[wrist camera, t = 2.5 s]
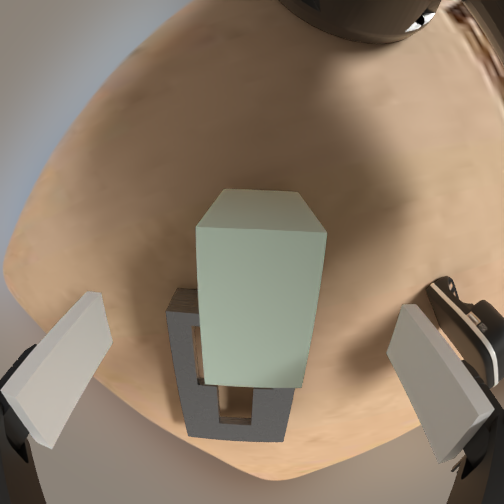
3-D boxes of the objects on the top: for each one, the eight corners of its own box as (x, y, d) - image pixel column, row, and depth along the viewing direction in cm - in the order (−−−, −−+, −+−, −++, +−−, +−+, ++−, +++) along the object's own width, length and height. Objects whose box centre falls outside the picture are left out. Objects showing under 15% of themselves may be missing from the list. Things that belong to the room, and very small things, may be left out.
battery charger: (464, 308, 26) (520, 371, 15) (439, 328, 27) (489, 397, 16) (450, 264, 24) (521, 325, 14) (422, 286, 25) (485, 358, 14)
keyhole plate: (177, 288, 26) (165, 311, 22) (301, 294, 26) (307, 318, 22) (193, 412, 32) (188, 436, 29) (281, 418, 32) (283, 442, 29)
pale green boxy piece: (224, 181, 22) (184, 226, 11) (297, 184, 22) (337, 233, 11) (223, 275, 25) (196, 383, 14) (289, 278, 25) (309, 387, 13)
